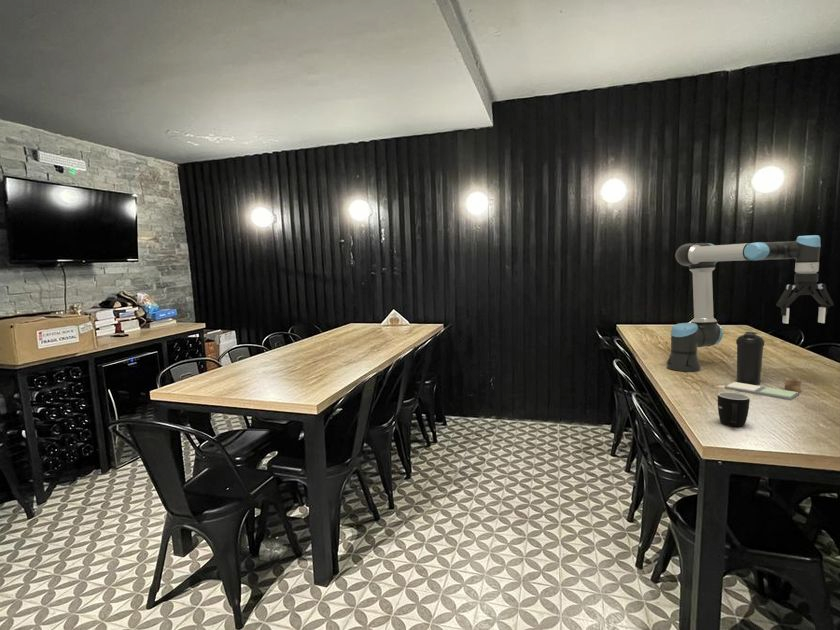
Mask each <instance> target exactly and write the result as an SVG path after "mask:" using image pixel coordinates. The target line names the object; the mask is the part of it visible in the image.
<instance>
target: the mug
mask: <svg viewBox="0 0 840 630" xmlns="http://www.w3.org/2000/svg"><path fill="white" fill-rule="evenodd" d="M750 400H751V399H750V396H749V395H746V394H744V393H740V392H735V391H734V392H733V391H722V392H719V393H717V412H718V417H719V420H720V423H721V424H722V425H724V426H726V427H731V428H742V427H744V426H745V424H746V423H747V420H748V415H749V408H750V402H751V401H750Z"/></svg>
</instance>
